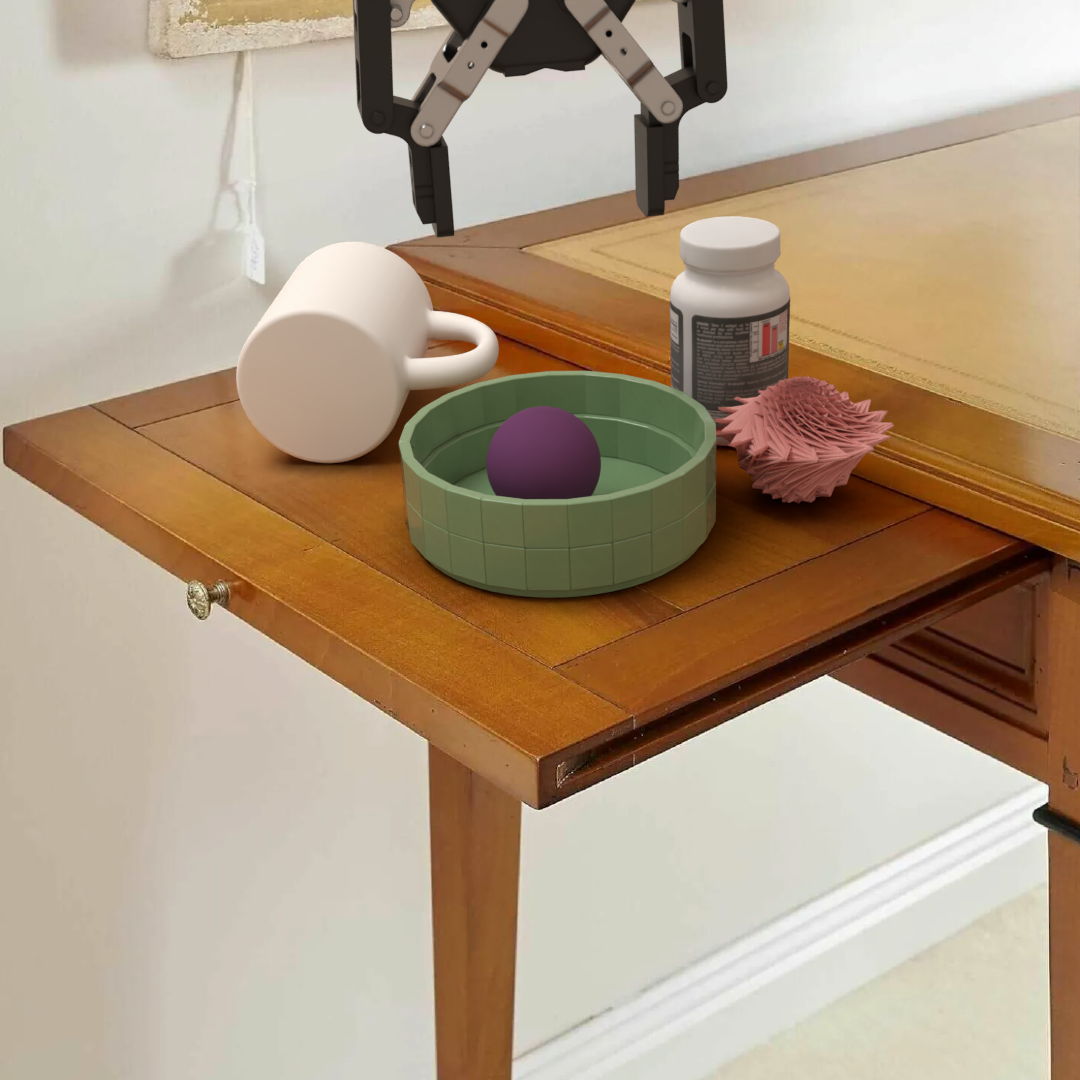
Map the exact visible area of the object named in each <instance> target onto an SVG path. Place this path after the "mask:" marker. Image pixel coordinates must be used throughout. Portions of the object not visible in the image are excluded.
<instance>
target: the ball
mask: <svg viewBox="0 0 1080 1080" xmlns="http://www.w3.org/2000/svg"><path fill="white" fill-rule="evenodd" d="M486 468H487V475H488V479H489V483H490V485H491V487H492V490H493V491H494V493H495V495H496V496H503V497H511V498H519V499H572V498H580V497H588V496H592V494H593V492H594V490H595V488H596V486H597V483H598V481H599V477H600V472H601V456H600V451H599V447H598V444H597V442H596V439H595V437H594V435H593V434H592V432H591V431H590V429H589V428H588V427H587V426H586V424H585V423H584V422H583V421H581V420H580V419H579V418H578V417H576V416H575V415H573V414H571V413H570V412H568V411H565V410H562V409H559V408H556V407H549V406H539V407H532V408H528V409H525V410H522V411H520V412H518V413H516V414H514V415H513V416H511V417H510V418H508V419H507V420H506V421H505V422H504V423H503V424H502V425H501V426H500V427H499V428H498V430H497V431H496V433H495V434H494V436H493V438H492V440H491V442H490V445H489V448H488V452H487V459H486Z"/></svg>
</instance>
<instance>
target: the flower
mask: <svg viewBox="0 0 1080 1080" xmlns="http://www.w3.org/2000/svg"><path fill="white" fill-rule="evenodd" d="M758 392H759V393H760V395H759V396H757V397H753V398H740V397H735V398H734V400H737V401H739V402H741V403H742V404H743V405H740V406H735V407H718V409H719V410H720V411H723V412H726V413H728V414H730V416H728V417H726V418H723V419H715V420H714V421H715V422H717V423H719V424H721V425H722V426H723V427H725V428H724V429H723V430H722V431H716V435H719V436H721V437H722V438H724V439H726V440H728V441H729V442H731V444H729V446H728V447H732V448H734V449H735V450H736V454H737V461H738V462H737V465H738V467H739V468H738V469H742V470H744V471H745V474H747V475H749V477H751V479H750V481H751V482H753V483H752V486H751V487H752V489H757V490H762V492H761V494H766V495H770V497H771V499H772V500H775V499H776V500H777V499H781V503H788V504H789V503H792V502H795V503H796V504H800V503H801V502H805V503H806V502H807V503H810V504H812V503H813V502H815V500H816V498H820V497H831V496H832V494H833V491H834V489H835V487H842V486H847V484H848V481H849V479H850V475H851V473H852V471H853V469H856V468H857V465H858V464H859V462H861V460H862V459H863V458H864V457H865V455H867V453H870V452H873V451H875V448H874V447H875V446H877V445H879V444H881V443H883V442H885V441H887V440H889V439H890V438H891V436H890V435H887V434H885V433H886V432H888V431H890V430H891V429H893V428H894V427H895V425H894V423H893V422H885V421H884V422H882V421H883V420H884V419H885V417H886V416H887V414H888V410H883V409H882V410H875V411H874V410H873V411H869V410H870V406H871V403H872V400H871V398H868V399H865V400H861V401H858V402H855V403H854V402H853V401H851V400H850V397H849V392H848V391H845V390H844V391H842V392H841V393H840V391H839V390H838V389H836V387H835V384H830V383H829V382H827V380H820V379H819V378H815V377H810V376H809V375H806V376H794V377H790V378H788V379H784V380H780V381H779V382H778V383H777V384H775V385H774V386H768V387H767V389H766V390H764V391H763V390H758Z"/></svg>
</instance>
